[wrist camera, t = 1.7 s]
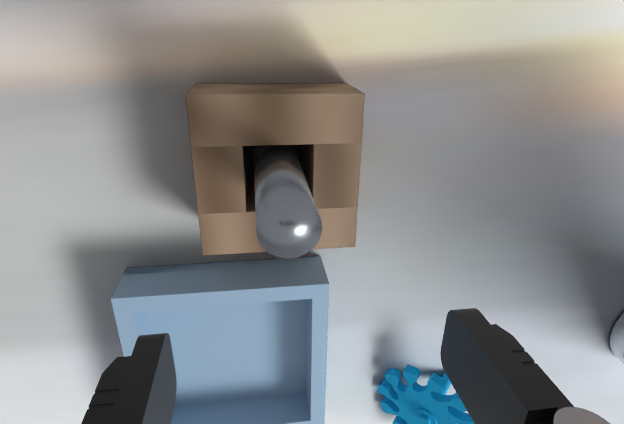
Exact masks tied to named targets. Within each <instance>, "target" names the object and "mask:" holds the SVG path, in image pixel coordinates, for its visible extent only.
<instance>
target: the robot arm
mask: <svg viewBox="0 0 624 424" xmlns="http://www.w3.org/2000/svg"><path fill="white" fill-rule="evenodd" d="M610 347H611V350H612V352H613V353H614V355H615V356H616V357H617V358H619V359H620V360H621V361H622V362H623V363H624V313H623V314H622V315H621V316H620V318H619V319H618V320H617V322H616V323H615V325H614V327H613V329H612V332H611V336H610ZM441 361H442V366H443V369H444V371H445V373H446V375H447V376H448V378H449V380H450V382H451V383H452V385H453V387H454V389H455V390H456V392H457V394H458V396H459V397H460V399H461V401H462V403H463V404H464V406H465V408H466V410H467V411H468V413H469V415H470V417H471V418H472V420H473V422H474V423H475V424H610V423H609V422H608V421H606V420H605V419H603V418H602V417H600V416H599V415H597V414H595V413H593V412H590V411H588V410H585V409H582V408H577V407H574V406H573V405H572V404H571V403H570V402H569V400H568V399H567V398H566V397H565V396H564V395H563V393H562V392H561V391H560V390H559V389H558V388H557V386H556V385H555V384H554V383H553V382H552V381H551V380H550V378H549V377H548V376H547V375H546V374H545V373H544V371H543V370H542V369H541V368H540V367H539V366H538V364H535V363H534V360H533V359H532V357H531V356H530V355H529V354H528V353H527V352H525V351H524V348H523V347H522V346H521V345H520V344H519V342H518V341H517V340H516V339H515V338H514V337H513V335H511V334H510V333H508V332H507V331H505V330H504V329H502V328H501V327H499V326H498V325H496V324H493V325H490V323H489V322H488V321H487V320H486V319H485V317H484V316H483V315H482V314H481V312H480V311H479V310H477V309H475V308H472V309H460V310H451V311H449V312H448V314H447V319H446V324H445V330H444V335H443V341H442V346H441ZM176 390H177V379H176V371H175V365H174V359H173V352H172V346H171V340H170V336H169V334H168V333H161V334H149V335H140V336H138V338H137V340H136V343H135V346H134V349H133V352H132V355H131V356H126V357H117V358H116V359H115V360H114V361H113V362H112V363H111V365H110V366H109V367H108V368H107V369H106V370H105V371H104V372H103V373H102V376H101V378H100V380H99V383H98V385H97V388H96V390H95V394H94V395H93V397H92V400H91V402H90V404H89V409H88V410H87V412H86V414H85V416H84V419H83V421H82V424H171V421H172V415H173V410H174V405H175V400H176Z"/></svg>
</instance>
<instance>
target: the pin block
mask: <svg viewBox="0 0 624 424" xmlns="http://www.w3.org/2000/svg"><path fill="white" fill-rule="evenodd" d="M364 96H365V93H363V92H361V91H359V90H358V89H356V88H354V87H352V86H350V85H349V84H347V83H251V84H195V85H194V86H193V87H192V88H191V89H190V90H189V91H188V92H187V93H186V95H185V98H186V107H187V116H188V125H189V134H190V143H191V153H192V162H193V171H194V180H195V189H196V198H197V207H198V216H199V226H200V235H201V244H202V253H203V255H220V254H238V253H255V252H267V251H266V250H265V249H264V248H263V247H262V246H261V244H260V243H259V241H258V238H257V233H256V209H255V184H248V185H247V183H246V165H245V147H244V146H260V145H302V144H304V176H305V178H306V181H307V184H308V186H309V189H310V192H311V194H312V197H313V200H314V202H315V205H316V208H317V210H318V213H319V215H320V218H321V222H322V233H321V237H320V239H319V241H318V243H317V244H316V246H315V247H314V248H313V249H324V248H342V247H355V241H356V225H357V209H358V193H359V177H360V160H361V144H362V128H363V112H364Z"/></svg>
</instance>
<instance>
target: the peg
mask: <svg viewBox="0 0 624 424" xmlns="http://www.w3.org/2000/svg"><path fill="white" fill-rule="evenodd" d="M254 182H255V209H256V233H257V238H258V241H259V243H260V244H261V246H262V247H263V248H264V249H265V250H266V251H267V252H268V253H270V254H272V255H273V256H276V257H280V258H296V257H300V256H302V255H304V254H306V253H308V252H309V251H311V250H312V249H313V248H314V247H315V246H316V244H317V243H318V241H319V239H320V237H321V233H322V222H321V218H320V215H319V213H318V210H317V208H316V205H315V202H314V200H313V197H312V194H311V192H310V189H309V186H308V184H307V181H306V178H305V176H304V173H303V171H302V168H301V165H300V163H299V160H298V157H297V155H296V152H295V149H294V147H293V145H260V146H256V147H255V150H254Z"/></svg>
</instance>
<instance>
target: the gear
mask: <svg viewBox="0 0 624 424" xmlns="http://www.w3.org/2000/svg"><path fill="white" fill-rule="evenodd" d="M403 376H404V378H405V379H406V382H407V386H406V385H404V384H403V383H402V382H401V373H400V371H399V370H398V369H389V370H388V371H387V372H386V374H385V375H384V377H385V379H384V380H383V381H382V383H381V384H380V386H379V387H378V389H377V391H378V392H379V393H380V394H382V395H384V396H385V398H384V399H383V401H382V402H381V407H382V410H383V411H384V412H386V413H392V414H395V415H397V416H396V418H395V420H394V421H393V424H475V423H474V422H473V420H472V418H471V417H470V415H469V414H467V413H464V412H465V411H467V410H466V408H465V406H464V404H463V403H462V401H461V399H460V397H459V396H458V394H457V392H456V393H455V394H453V395H445V394H446V392H447V390H448V388H449V386H450V384H451V382H450V380H449V378H448V376H447V375H446V373H444V374H443V375H442V377H440V376H439V375H438V374H436V373H433V374H432V375H431V377H430V379H429V380H428V385H426V386H420V385H419V384H418V383H417V382H416V381H417V379H418V377H419V376H420V370H419V369H417V368H415V367H413V366H410V365H407V367H406V368H405V370H404V371H403ZM392 386H393V387H394V389H395V390H396V391H395V390H394V389H393V387H392Z"/></svg>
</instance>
